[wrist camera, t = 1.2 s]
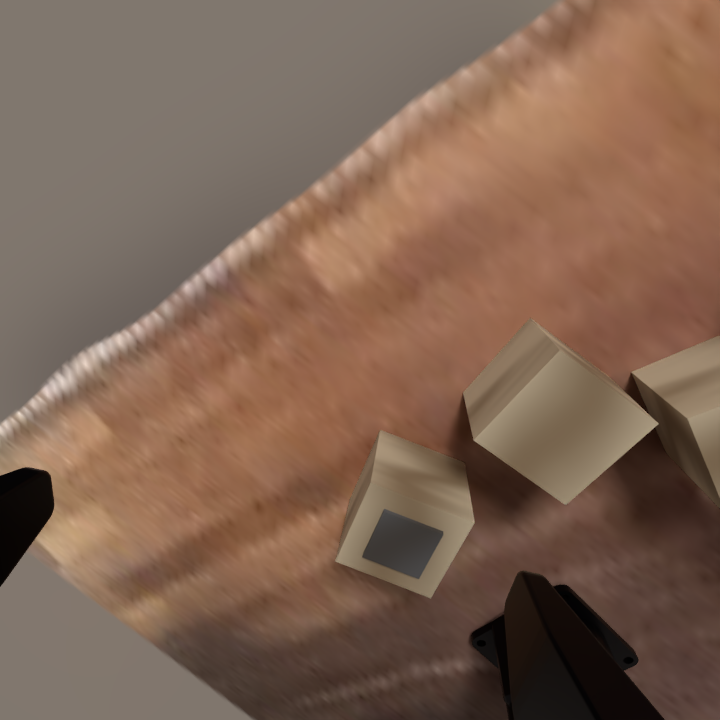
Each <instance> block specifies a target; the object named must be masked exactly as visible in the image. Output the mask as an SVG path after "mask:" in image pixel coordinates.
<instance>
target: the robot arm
mask: <svg viewBox="0 0 720 720" xmlns="http://www.w3.org/2000/svg"><path fill="white" fill-rule="evenodd" d="M53 510H54V497H53V489H52V481H51V476H50V474H49V473H48V472H47V471H44V470H39V469H35V468H30V467H25V468H21V469H18V470H15V471H12V472H10V473H7V474H4V475H1V476H0V586H1V585H2V584H3V583H4V581H5V580H6V579H7V577H8V576H9V574H10V573H11V572H12V570H13V569H14V567H15V566H16V565H17V563H18V562H19V560H20V559H21V558H22V556H23V555H24V553H25V552H26V551H27V549H28V548H29V546H30V545H31V544H32V542H33V541H34V539H35V538H36V537H37V535H38V534H39V532H40V531H41V530H42V528H43V527H44V525H45V524H46V523H47V521H48V520H49V518H50V517H51V515H52V513H53ZM563 594H564V595H563ZM561 595H563V596H561ZM472 644H473V646H474V647H475V648H476V649H477V650H478V651H479V652H480V653H481V654H482V655H484V656H485V657H486V658H487V659H488V660H489V661H490V662H491V663H492V664H494V665H495V666H496V667H497V668H498V669H499V674H500V680H501V686H502V692H503V698H504V701H505V702H506V706H507V712H508V718H509V720H665V719H664V718H663V717H662V716H661V715H660V713H659V712H658V711H657V710H656V709H655V708H654V706H653V705H652V704H651V703H650V702H649V700H648V699H647V698H646V697H645V696H644V694H643V693H642V692H641V691H640V690H639V688H638V687H637V686H636V685H635V684H634V683H633V681H632V680H631V679H630V678H629V677H628V675H627V674H626V673H625V672H624V670H626V669H628V668H631V667H633V666H635V665H636V664H637V663H638V657H637V655H636V653H635V651H634V650H633V649H632V648H631V647H630V646H629V645H628V644H627V643H626V642H625V641H624V640H623V639H622V638H621V637H620V636H619V635H618V634H617V633H616V632H615V631H614V630H613V629H612V628H611V627H610V626H609V625H608V624H607V623H606V622H605V621H604V620H603V619H602V618H601V617H600V616H599V615H598V614H597V613H596V612H595V611H594V610H592V609H591V608H590V607H589V606H588V605H587V604H586V603H585V602H584V601H583V600H582V599H581V598H580V597H579V596H578V595H577V594H576V593H575V592H574V591H573V590H572V589H571V588H570V587H568V586H567V585H558V586H555V587H553V586H552V585H551V584H550V583H549V581H548V580H547V579H546V578H545V577H544V576H542V575H540V574H537V573H532V572H527V571H520V572H519V573H518V574H517V576H516V578H515V580H514V582H513V585H512V587H511V590H510V592H509V594H508V597H507V599H506V602H505V608H504V616H502V617H500V618H498V619H496V620H495V621H493V622H491V623H489V624H487V625H486V626H484V627H482V628H480V629H478V630H477V631H475V632H474V633H472Z"/></svg>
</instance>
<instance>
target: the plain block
mask: <svg viewBox="0 0 720 720" xmlns="http://www.w3.org/2000/svg"><path fill="white" fill-rule="evenodd" d="M463 395H464V399H465V404H466V408H467V413H468V417H469V422H470V427H471V431H472V436H473V440H474V441H475V442H477V443H478V444H479V445H481V446H482V447H484V448H485V449H487V450H488V451H489V452H491V453H492V454H494V455H495V456H496V457H498V458H499V459H501V460H502V461H504V462H505V463H506V464H508V465H509V466H511V467H512V468H514V469H515V470H516V471H518V472H519V473H521V474H522V475H523V476H525V477H526V478H528V479H529V480H531V481H532V482H533V483H535V484H536V485H538V486H539V487H541V488H542V489H543V490H545V491H546V492H548V493H549V494H550V495H552V496H553V497H555V498H556V499H558V500H559V501H560V502H562V503H563V504H565V505H566V504H568V503H569V502H570V501H571V500H572V499H573V498H574V497H576V496H577V495H578V494H579V493H580V492H581V491H582V490H584V489H585V488H586V487H587V486H588V485H589V484H590V483H592V482H593V481H594V480H595V479H596V478H597V477H598V476H600V475H601V474H602V473H603V472H604V471H605V470H606V469H608V468H609V467H610V466H611V465H612V464H613V463H615V462H616V461H617V460H618V459H619V458H620V457H621V456H623V455H624V454H625V453H626V452H627V451H628V450H629V449H631V448H632V447H633V446H634V445H635V444H636V443H637V442H639V441H640V440H641V439H642V438H643V437H644V436H645V435H647V434H648V433H649V432H650V431H651V430H652V429H653V428H655V427H656V426H657V425H658V424H659V423H658V422H656V421H655V420H654V419H653V418H652V417H651V416H650V415H649V414H648V413H647V412H646V411H645V410H644V409H643V408H642V407H641V406H639V405H638V404H637V403H636V402H635V401H634V400H633V399H632V398H631V397H630V396H629V395H628V394H627V393H626V392H625V391H624V390H622V389H621V388H620V387H619V386H618V385H617V384H616V383H615V382H614V381H613V380H612V379H611V378H610V377H609V376H607V375H606V374H605V373H603V372H602V371H601V370H599V369H598V368H597V367H595V366H594V365H593V364H591V363H590V362H589V361H587V360H586V359H585V358H583V357H582V356H581V355H579V354H578V353H577V352H575V351H574V350H573V349H571V348H570V347H569V346H567V345H566V344H565V343H563V342H562V341H561V340H559V339H558V338H557V337H555V336H554V335H553V334H551V333H550V332H549V331H547V330H546V329H545V328H543V327H542V326H541V325H539V324H538V323H537V322H535V321H534V320H533V319H531V318H530V319H529V320H528V321H527V322H526V323H525V324H524V325H523V326H522V327H521V329H520V330H519V331H518V332H517V333H516V334H515V335H514V336H513V338H512V339H511V340H510V341H509V342H508V343H507V344H506V345H505V346H504V348H503V349H502V350H501V351H500V352H499V353H498V354H497V355H496V356H495V358H494V359H493V360H492V361H491V362H490V363H489V364H488V365H487V366H486V368H485V369H484V370H483V371H482V372H481V373H480V374H479V375H478V377H477V378H476V379H475V380H474V381H473V382H472V383H471V384H470V385H469V387H468V388H467V389H466V390H465V391H464V392H463Z"/></svg>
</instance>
